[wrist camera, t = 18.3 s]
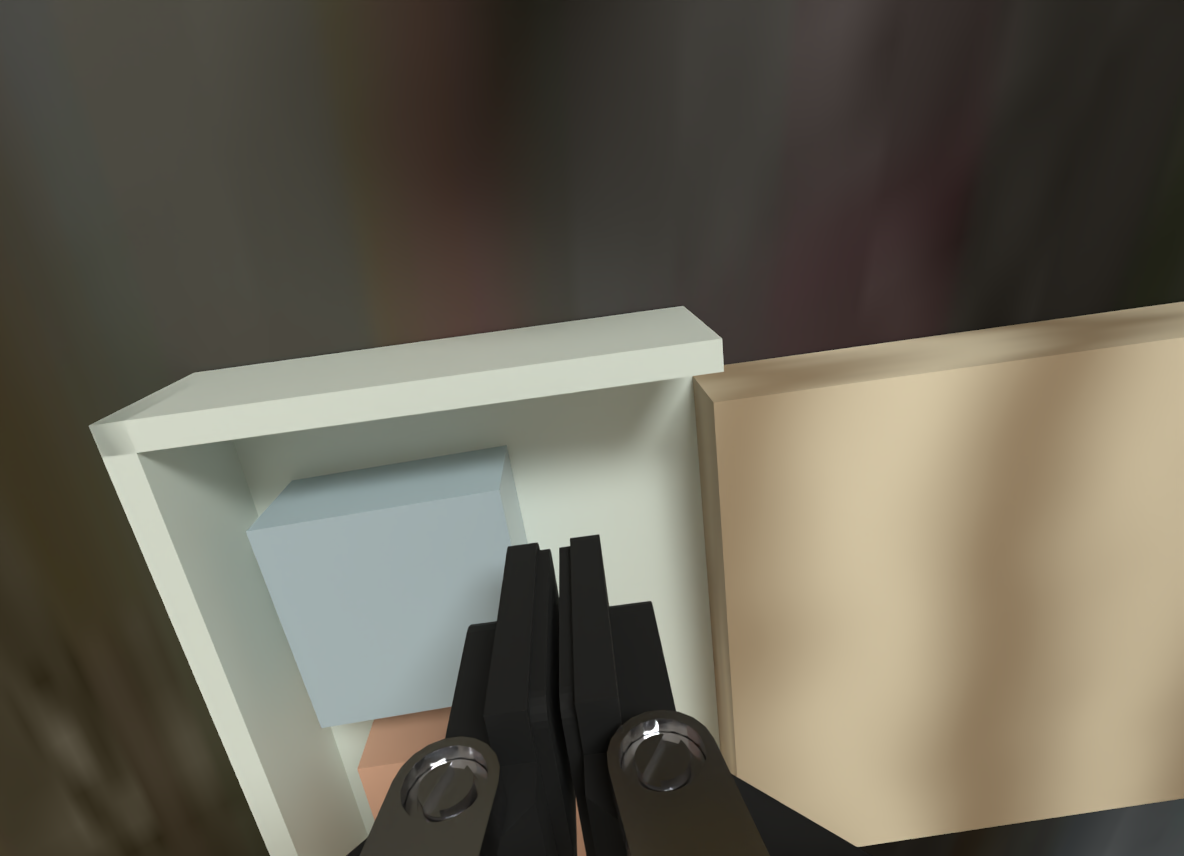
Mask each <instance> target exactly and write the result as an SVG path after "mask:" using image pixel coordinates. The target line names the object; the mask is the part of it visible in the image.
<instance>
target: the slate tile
mask: <svg viewBox="0 0 1184 856" xmlns="http://www.w3.org/2000/svg"><path fill="white" fill-rule="evenodd" d="M246 533H247V536H248V539H249V541H250V544H251V546H252V549H253V552H254V554H255V557H256V559H257V562H258V565H259V567H260V570H261V572H262V575H263V578H264V580H265V583H266V585H267V588H268V591H269V593H270V596H271V598H272V601H273V604H274V606H275V609H276V611H277V614H278V617H279V619H280V622H281V624H282V627H283V630H284V632H285V635H286V637H287V640H288V643H289V645H290V648H291V650H292V653H293V656H294V658H295V661H296V663H297V666H298V669H299V671H300V674H301V676H302V679H303V682H304V684H305V687H306V689H307V692H308V695H309V697H310V700H311V702H312V705H313V708H314V710H315V713H316V715H317V718H318V721H319V723H320V726H321V728H326V727H332V726H338V725H344V724H350V723H356V722H362V721H368V720H374V719H380V718H386V717H392V716H398V715H404V714H410V713H416V712H422V711H428V710H434V709H440V708H446V707H452V702H453V697H454V692H455V687H456V682H457V677H458V672H459V668H460V663H461V658H462V653H463V648H464V643H465V638H466V633H467V630H468V627H469V626H470V625H471V624H479V623H486V622H494V621H497V616H498V609H499V602H500V595H501V588H502V581H503V574H504V567H505V560H506V553H507V547H508V546H514V545H522V544H528V541H527V537H526V532H525V527H524V523H523V518H522V513H521V509H520V504H519V499H518V494H517V490H516V485H515V480H514V476H513V471H512V466H511V462H510V457H509V452H508V448H507V445H505V446H499V447H492V448H486V449H480V450H474V451H468V452H462V453H456V454H450V455H444V456H438V457H431V458H425V459H419V460H413V461H407V462H401V463H395V464H389V465H383V466H377V467H370V468H364V469H358V470H352V471H346V472H340V473H334V474H328V475H322V476H315V477H309V478H303V479H297V480H292V481H291V482H290V483H289V484H288V485H287V486H286V488H285V489H284V490H283V491H282V492H281V493H280V494H279V495H278V496H277V498H276V499H275V500H274V501H273V502H272V503H271V504H270V505H269V506H268V508H267V509H266V510H265V511H264V512H263V513H262V514H261V515H260V516H259V517H258V519H257V520H256V521H255V522H254V523H253V524H252V525H251V526H250V527H249V529H248V530H247V531H246Z"/></svg>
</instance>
